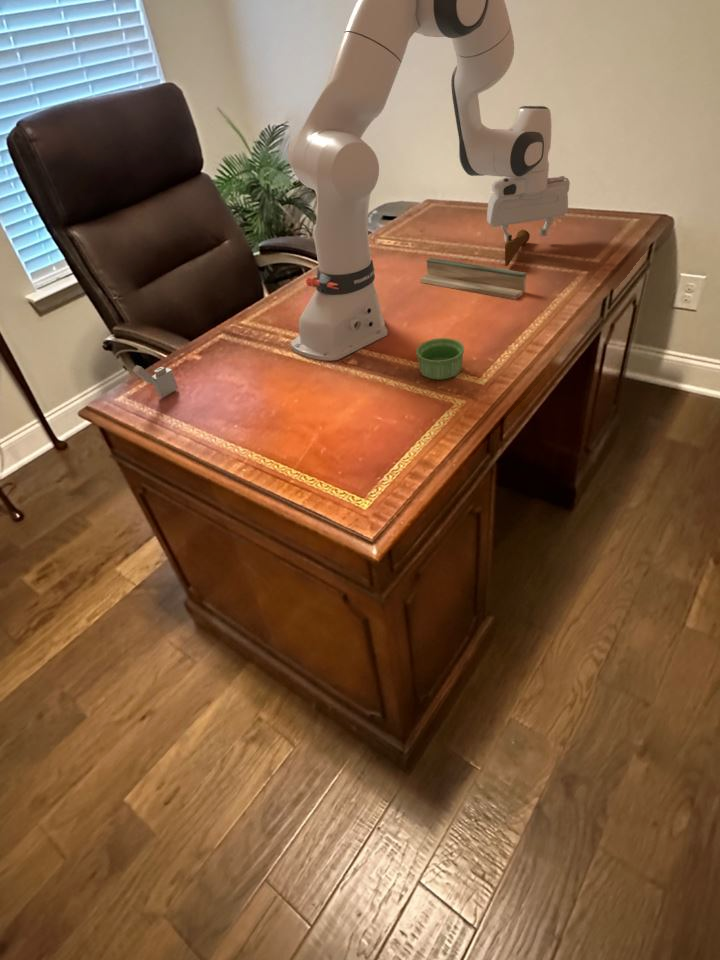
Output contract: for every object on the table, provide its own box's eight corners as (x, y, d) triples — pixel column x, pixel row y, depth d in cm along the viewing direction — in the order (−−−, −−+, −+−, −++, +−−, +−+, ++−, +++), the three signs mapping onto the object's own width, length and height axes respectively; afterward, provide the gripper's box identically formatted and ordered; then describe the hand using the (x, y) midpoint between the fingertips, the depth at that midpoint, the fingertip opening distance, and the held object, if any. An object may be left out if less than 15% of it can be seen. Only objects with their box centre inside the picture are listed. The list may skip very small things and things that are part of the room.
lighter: (173, 386, 120) (160, 351, 115) (178, 388, 119) (165, 352, 114) (145, 403, 116) (130, 367, 111) (151, 405, 115) (136, 369, 110)
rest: (515, 299, 132) (516, 280, 129) (420, 282, 146) (419, 264, 143) (525, 292, 134) (526, 272, 131) (431, 275, 148) (430, 257, 145)
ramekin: (461, 356, 116) (461, 335, 113) (466, 379, 109) (466, 358, 106) (416, 360, 116) (415, 340, 114) (418, 383, 110) (417, 363, 107)
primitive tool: (504, 267, 145) (518, 266, 143) (504, 244, 141) (519, 243, 140) (516, 243, 158) (529, 242, 157) (516, 222, 155) (530, 221, 154)
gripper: (565, 172, 147) (559, 228, 156) (485, 184, 147) (484, 240, 156) (575, 177, 142) (569, 236, 151) (492, 190, 142) (491, 248, 151)
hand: (525, 238), depth 153 cm, fingers open, 8 cm apart
